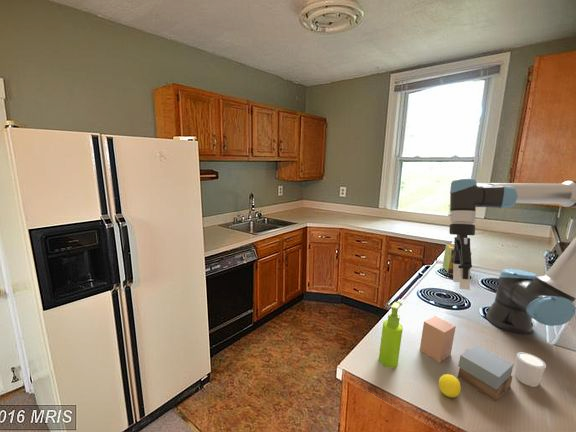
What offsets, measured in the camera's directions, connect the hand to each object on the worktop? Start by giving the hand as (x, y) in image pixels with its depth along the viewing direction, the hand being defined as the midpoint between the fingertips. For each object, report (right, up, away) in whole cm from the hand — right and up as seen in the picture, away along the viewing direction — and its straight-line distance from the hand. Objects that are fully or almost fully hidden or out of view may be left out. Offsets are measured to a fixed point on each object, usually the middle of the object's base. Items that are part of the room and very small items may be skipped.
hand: (460, 285), depth 95 cm
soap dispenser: (-26, -24, -4) cm, 36 cm away
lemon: (-14, -27, -16) cm, 34 cm away
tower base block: (0, -27, -11) cm, 29 cm away
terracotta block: (-8, -23, +1) cm, 25 cm away
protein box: (+43, -10, +75) cm, 87 cm away
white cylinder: (+14, -27, -10) cm, 32 cm away
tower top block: (0, -23, -12) cm, 26 cm away
